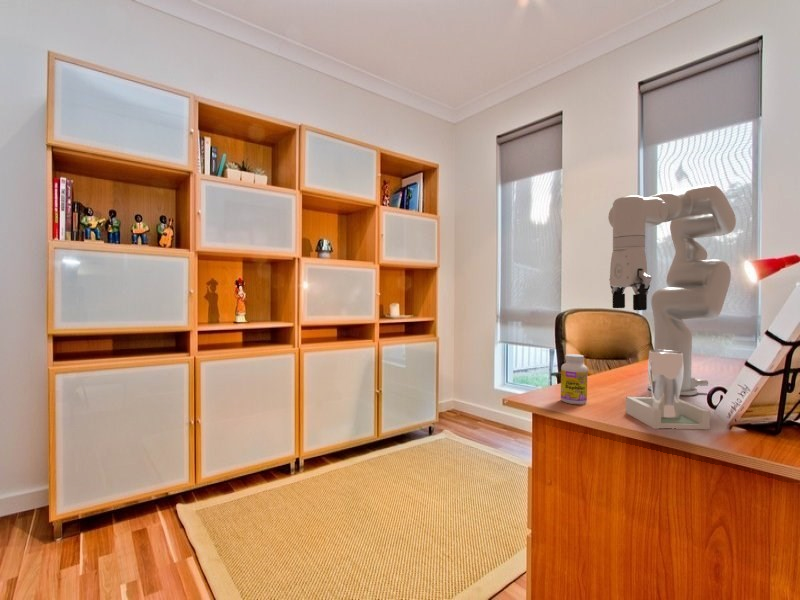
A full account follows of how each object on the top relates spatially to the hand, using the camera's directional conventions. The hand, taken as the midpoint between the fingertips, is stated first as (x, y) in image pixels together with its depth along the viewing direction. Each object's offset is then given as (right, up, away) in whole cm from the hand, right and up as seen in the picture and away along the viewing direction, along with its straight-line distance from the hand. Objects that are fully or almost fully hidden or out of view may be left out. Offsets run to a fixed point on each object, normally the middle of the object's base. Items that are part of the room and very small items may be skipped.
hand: (628, 309), depth 110 cm
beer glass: (+1, -25, -13) cm, 28 cm away
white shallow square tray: (+1, -26, -13) cm, 29 cm away
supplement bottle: (-13, -26, +4) cm, 29 cm away
